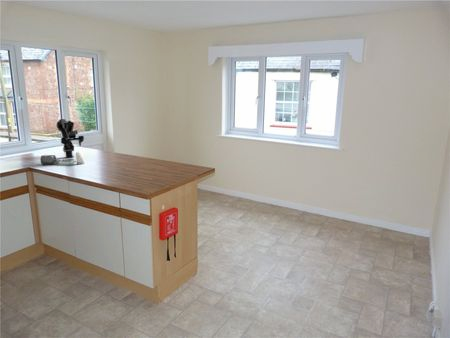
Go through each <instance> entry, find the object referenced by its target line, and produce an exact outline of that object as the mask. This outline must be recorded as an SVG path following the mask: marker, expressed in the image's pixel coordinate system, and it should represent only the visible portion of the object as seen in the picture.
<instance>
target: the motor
mask: <svg viewBox="0 0 450 338" xmlns="http://www.w3.org/2000/svg"><path fill="white" fill-rule="evenodd" d="M40 163H41V165H54V166H57V167H58V166H72V165H74V164H75V163H77V160H75V159H74V158H62V159H57V157H56V155H55V154H50V155H47V154H44V155H41V156H40Z"/></svg>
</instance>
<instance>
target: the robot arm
mask: <svg viewBox="0 0 450 338" xmlns="http://www.w3.org/2000/svg"><path fill="white" fill-rule="evenodd" d="M74 127H75V123H74V122H73V121H71V120H68V121H67V120H66V119H65V118H59V120H58V121H57V122H56V128H57V130H58V131H59V132H60V133H61V137H60V143H61V145H62V144H63V148H62V152H64V153H65V157H64V159H74V158H73V157H74V155H73V152H74V151H75V145H74V144H73V142H74V141H78V145H79V147H81V146H82V143H83V142H84V140H85V137H84V135H78V130H77V129H76V130H74ZM76 135H78V137H76ZM72 141H73V142H72Z"/></svg>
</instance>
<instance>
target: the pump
mask: <svg viewBox="0 0 450 338" xmlns="http://www.w3.org/2000/svg"><path fill="white" fill-rule="evenodd" d="M75 159H76V162H75V163H76V165H79V166H81V165H84V164H85V161H84V155H83V151H79V152H75Z"/></svg>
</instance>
